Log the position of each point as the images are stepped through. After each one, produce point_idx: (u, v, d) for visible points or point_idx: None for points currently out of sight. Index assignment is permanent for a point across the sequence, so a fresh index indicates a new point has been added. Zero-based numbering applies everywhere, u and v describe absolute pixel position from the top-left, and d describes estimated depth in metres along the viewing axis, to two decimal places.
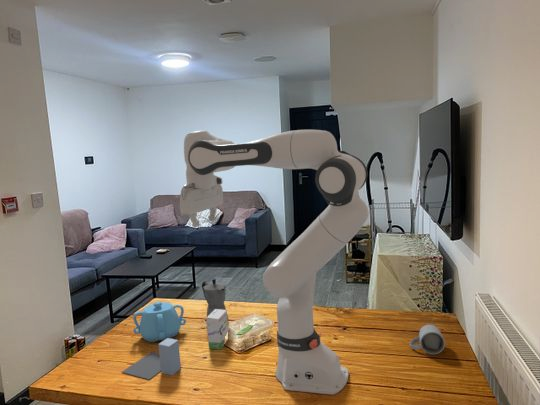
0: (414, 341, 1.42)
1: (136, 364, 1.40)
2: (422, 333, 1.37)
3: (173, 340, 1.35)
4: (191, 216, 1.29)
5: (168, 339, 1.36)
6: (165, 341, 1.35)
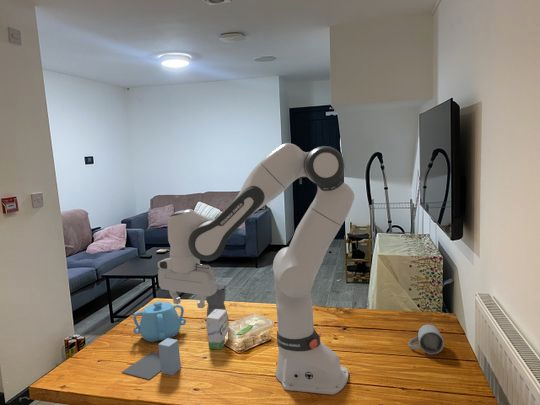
0: (413, 341, 1.42)
1: (136, 364, 1.40)
2: (421, 333, 1.37)
3: (173, 340, 1.35)
4: (204, 297, 1.24)
5: (168, 339, 1.36)
6: (165, 341, 1.35)
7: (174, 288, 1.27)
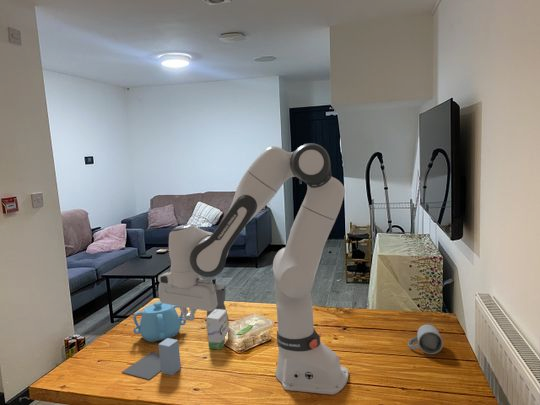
0: (412, 341, 1.42)
1: (136, 364, 1.40)
2: (420, 333, 1.37)
3: (173, 340, 1.35)
4: (194, 309, 1.26)
5: (168, 339, 1.36)
6: (165, 341, 1.35)
7: (174, 302, 1.27)
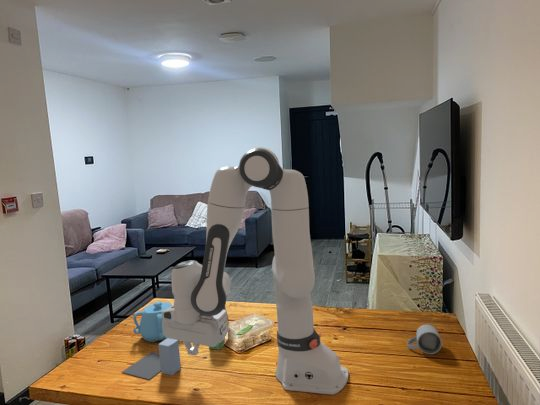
0: (411, 341, 1.42)
1: (136, 364, 1.40)
2: (419, 333, 1.37)
3: (173, 340, 1.35)
4: (198, 344, 1.28)
5: (168, 339, 1.36)
6: (165, 341, 1.35)
7: (178, 337, 1.29)
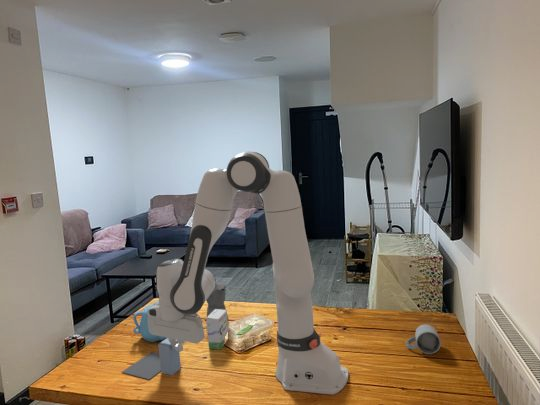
0: (410, 341, 1.42)
1: (136, 364, 1.40)
2: (418, 333, 1.37)
3: None
4: (182, 341, 1.31)
5: (168, 339, 1.36)
6: (165, 341, 1.35)
7: (163, 334, 1.32)
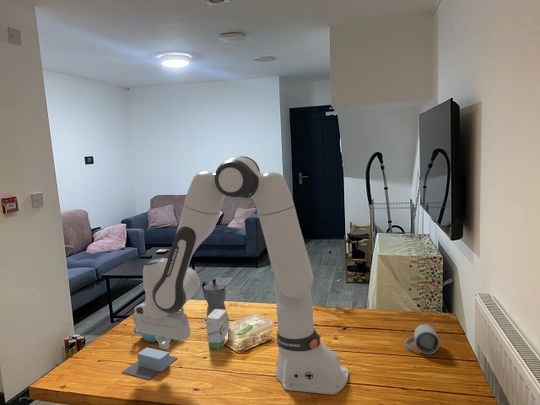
0: (409, 341, 1.42)
1: (136, 364, 1.40)
2: (417, 333, 1.37)
3: None
4: (169, 338, 1.33)
5: None
6: None
7: (150, 332, 1.34)
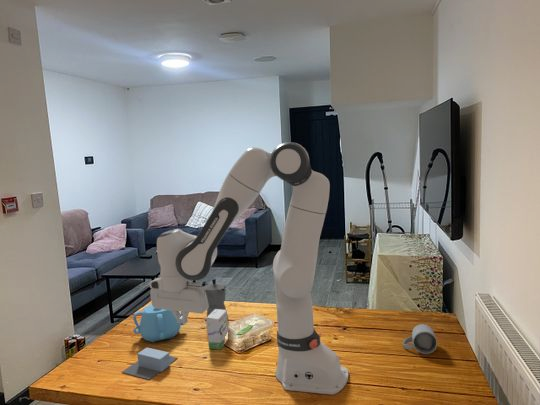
0: (407, 341, 1.42)
1: (136, 364, 1.40)
2: (415, 333, 1.37)
3: None
4: (186, 313, 1.28)
5: None
6: None
7: (167, 307, 1.29)
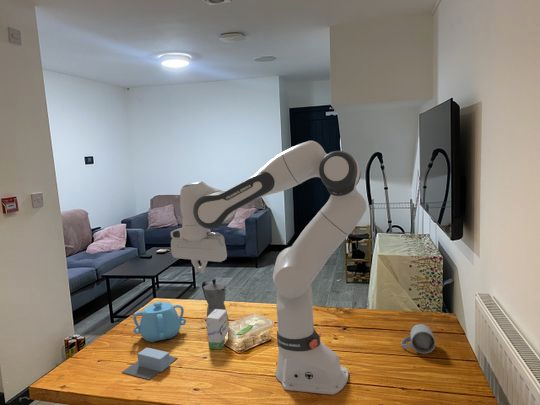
0: (405, 340, 1.43)
1: (136, 364, 1.40)
2: (413, 332, 1.38)
3: None
4: (205, 262, 1.34)
5: None
6: None
7: (186, 256, 1.35)
